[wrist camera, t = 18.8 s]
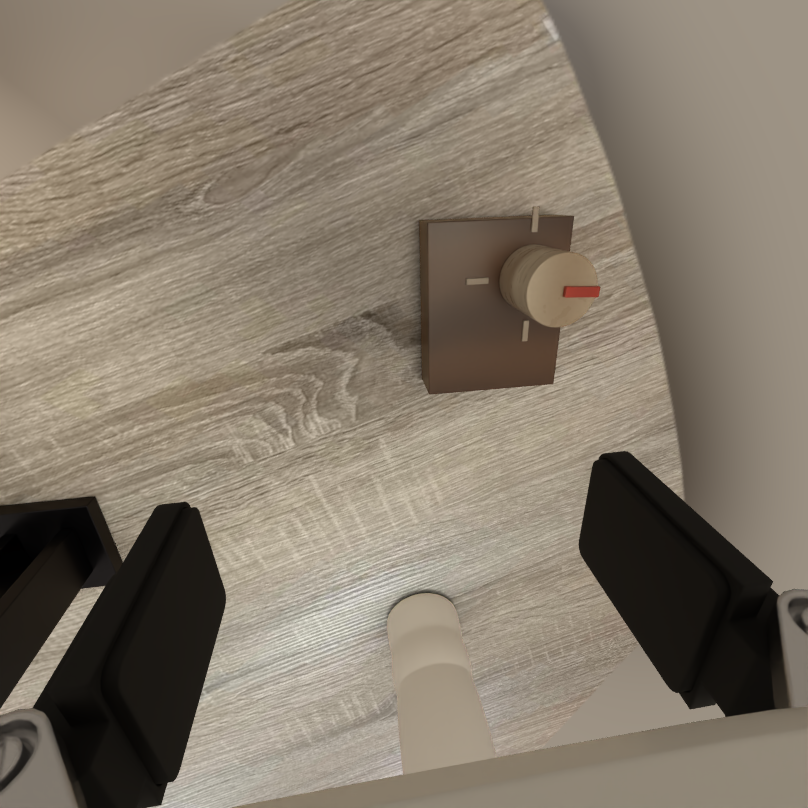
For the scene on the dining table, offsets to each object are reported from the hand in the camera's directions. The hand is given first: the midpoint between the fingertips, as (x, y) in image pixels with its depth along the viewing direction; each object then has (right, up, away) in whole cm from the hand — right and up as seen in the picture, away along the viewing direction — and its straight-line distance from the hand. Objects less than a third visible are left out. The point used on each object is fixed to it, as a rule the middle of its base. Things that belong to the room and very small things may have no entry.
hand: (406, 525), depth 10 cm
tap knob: (+8, +11, +17) cm, 22 cm away
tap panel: (+6, +10, +20) cm, 23 cm away
